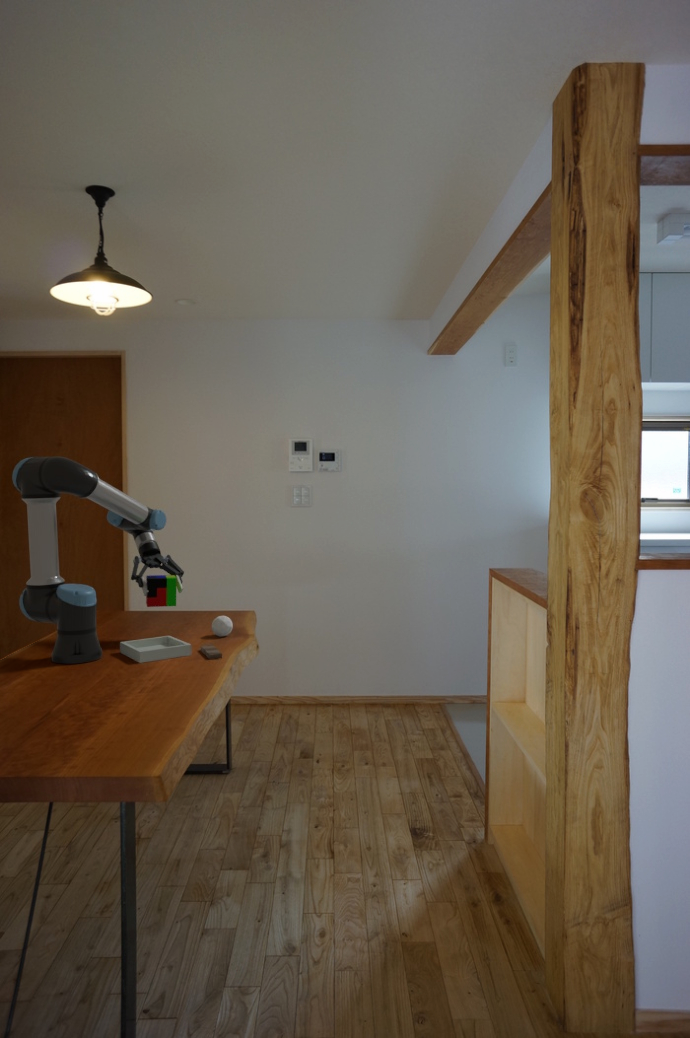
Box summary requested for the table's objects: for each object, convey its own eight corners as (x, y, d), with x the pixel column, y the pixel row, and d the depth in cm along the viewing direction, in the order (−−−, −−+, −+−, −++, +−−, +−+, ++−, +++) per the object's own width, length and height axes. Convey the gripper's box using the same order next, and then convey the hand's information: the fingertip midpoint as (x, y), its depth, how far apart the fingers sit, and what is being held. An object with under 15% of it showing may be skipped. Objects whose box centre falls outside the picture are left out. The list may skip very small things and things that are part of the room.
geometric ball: (222, 644, 249) (215, 630, 244) (211, 633, 254) (205, 619, 249) (239, 632, 252) (232, 618, 247) (228, 622, 257) (222, 607, 252)
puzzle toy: (146, 602, 247) (146, 575, 246) (174, 601, 250) (174, 575, 249) (147, 606, 237) (147, 578, 237) (176, 606, 240) (176, 578, 240)
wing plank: (221, 659, 216) (221, 653, 216) (209, 660, 215) (209, 654, 215) (212, 650, 229) (212, 644, 229) (200, 651, 228) (200, 645, 227)
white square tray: (139, 662, 210) (139, 651, 209) (120, 652, 223) (120, 642, 223) (191, 655, 220) (191, 644, 220) (169, 645, 234) (169, 635, 234)
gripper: (175, 552, 263) (192, 596, 251) (113, 555, 247) (128, 601, 236) (181, 540, 258) (198, 583, 247) (118, 541, 243) (133, 588, 232)
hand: (164, 592), depth 242 cm, fingers closed on puzzle toy, 12 cm apart
